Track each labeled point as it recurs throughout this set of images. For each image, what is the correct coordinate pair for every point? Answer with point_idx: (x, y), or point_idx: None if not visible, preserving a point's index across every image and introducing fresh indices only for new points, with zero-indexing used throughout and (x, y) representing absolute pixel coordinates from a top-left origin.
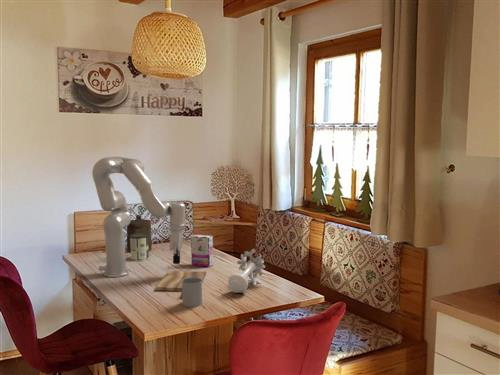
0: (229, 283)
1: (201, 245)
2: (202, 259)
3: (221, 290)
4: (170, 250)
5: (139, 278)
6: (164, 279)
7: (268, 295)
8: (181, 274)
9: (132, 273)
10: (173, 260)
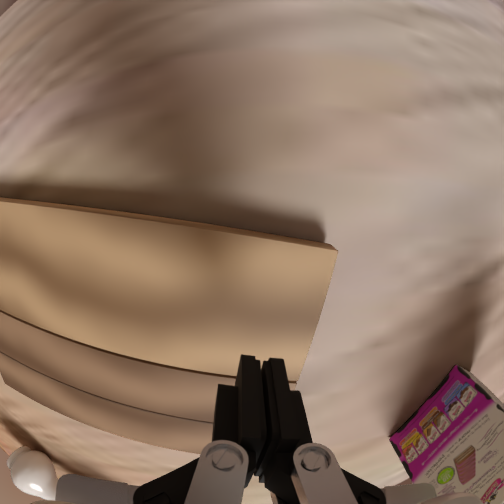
0: (10, 455)
1: (466, 484)
2: (429, 437)
3: (45, 435)
4: (36, 501)
5: (239, 22)
6: (62, 228)
7: None
8: (210, 357)
9: (375, 3)
10: (241, 384)
